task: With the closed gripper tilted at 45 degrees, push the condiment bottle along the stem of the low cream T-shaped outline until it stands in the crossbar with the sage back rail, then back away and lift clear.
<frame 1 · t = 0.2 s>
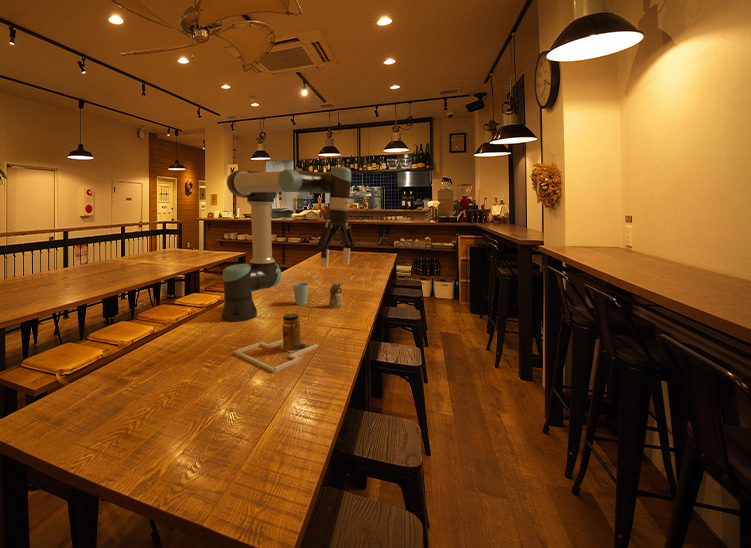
hand: (335, 265, 136), 27 cm above the table, tool pointing down, fingers open, 13 cm apart
cup: (301, 304, 182), on the table
condiment: (294, 347, 126), on the table
t outline: (278, 352, 121), on the table
figurine: (335, 306, 178), on the table
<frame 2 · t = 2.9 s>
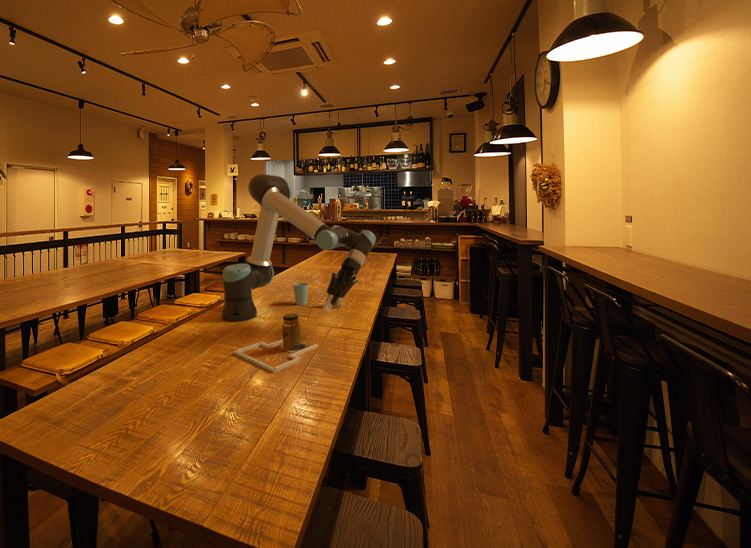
hand: (325, 310, 135), 10 cm above the table, tool tilted 45°, fingers closed
nothing on the table moved.
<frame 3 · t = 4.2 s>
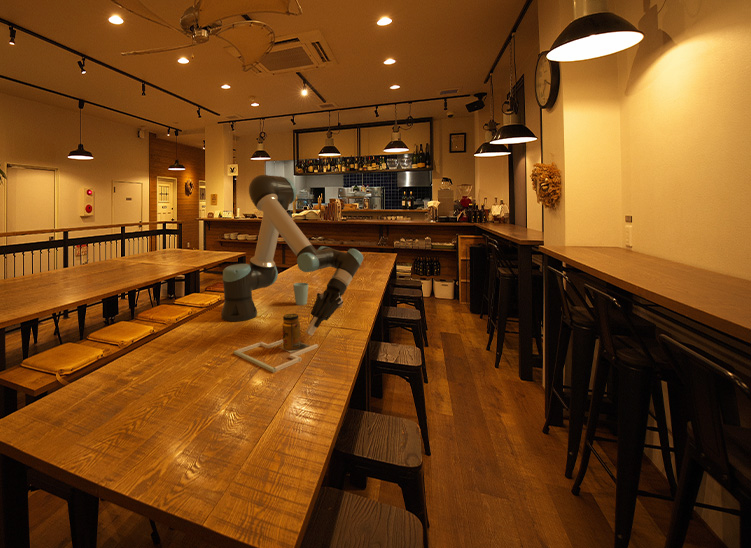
hand: (308, 333, 131), 3 cm above the table, tool tilted 45°, fingers closed
nothing on the table moved.
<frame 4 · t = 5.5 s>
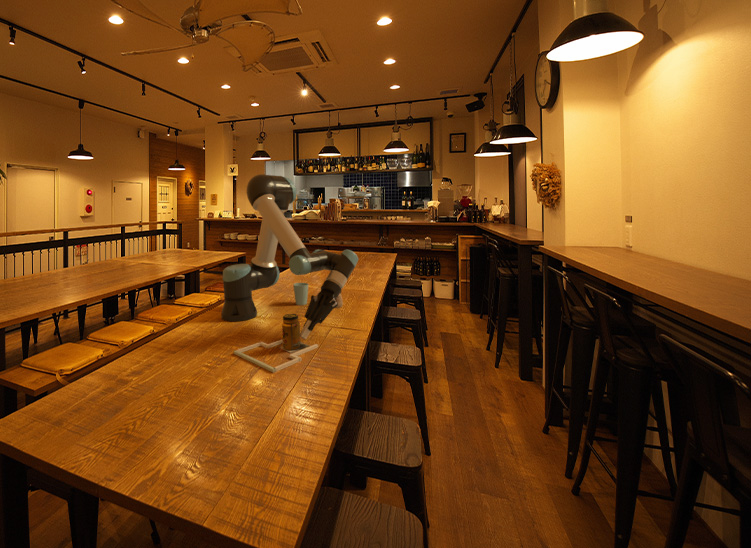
hand: (302, 337, 128), 3 cm above the table, tool tilted 45°, fingers closed
condiment: (294, 347, 126), on the table, touching gripper
everything else where it was.
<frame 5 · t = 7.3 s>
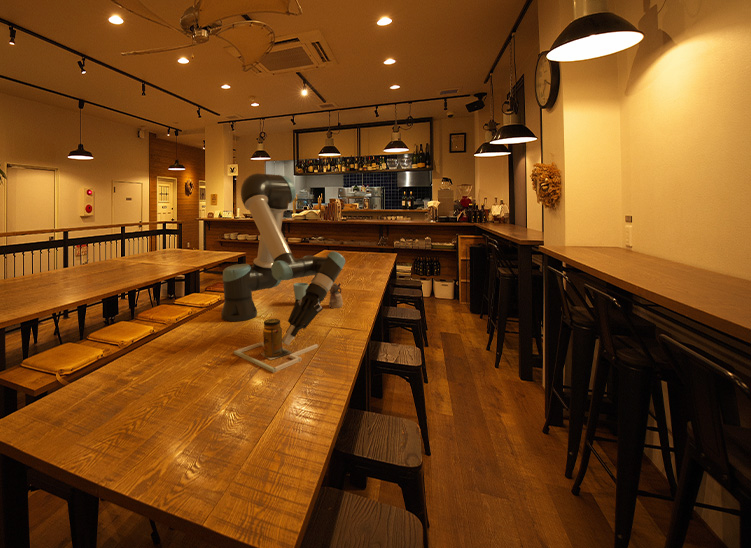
hand: (285, 343, 122), 3 cm above the table, tool tilted 45°, fingers closed
condiment: (276, 354, 120), on the table, touching gripper
everything else where it was.
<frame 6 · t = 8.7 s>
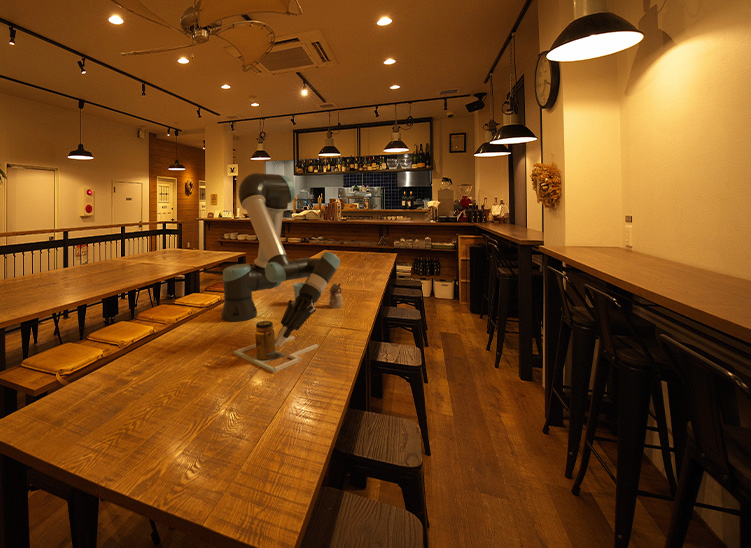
hand: (277, 344, 120), 3 cm above the table, tool tilted 45°, fingers closed
condiment: (268, 356, 118), on the table, touching gripper
everything else where it was.
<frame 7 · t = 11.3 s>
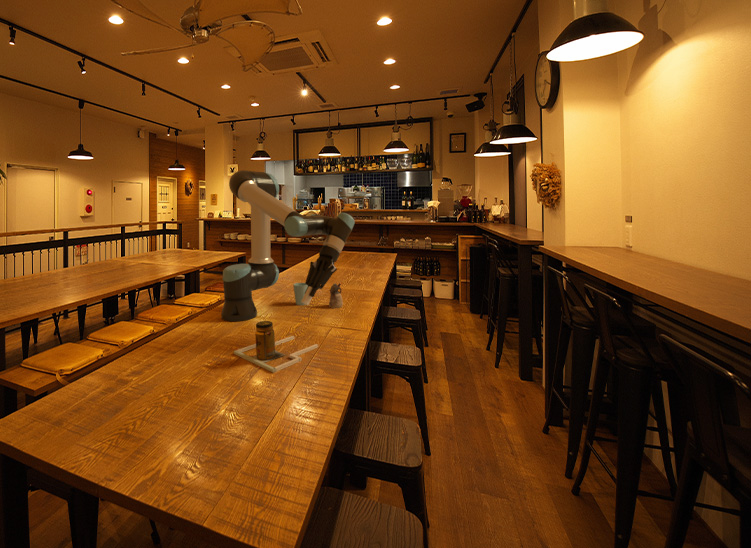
hand: (304, 303, 130), 14 cm above the table, tool tilted 35°, fingers closed
condiment: (268, 356, 118), on the table
everything else where it was.
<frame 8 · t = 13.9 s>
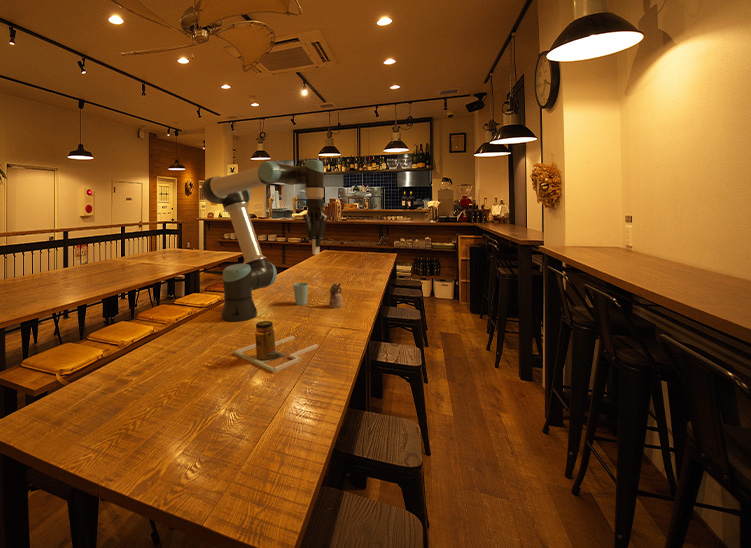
hand: (316, 254, 152), 29 cm above the table, tool pointing down, fingers closed
nothing on the table moved.
at the end: condiment inside the target area (1.3 cm from its centre), on the table; condiment tilted 0°; the gripper is holding nothing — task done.
